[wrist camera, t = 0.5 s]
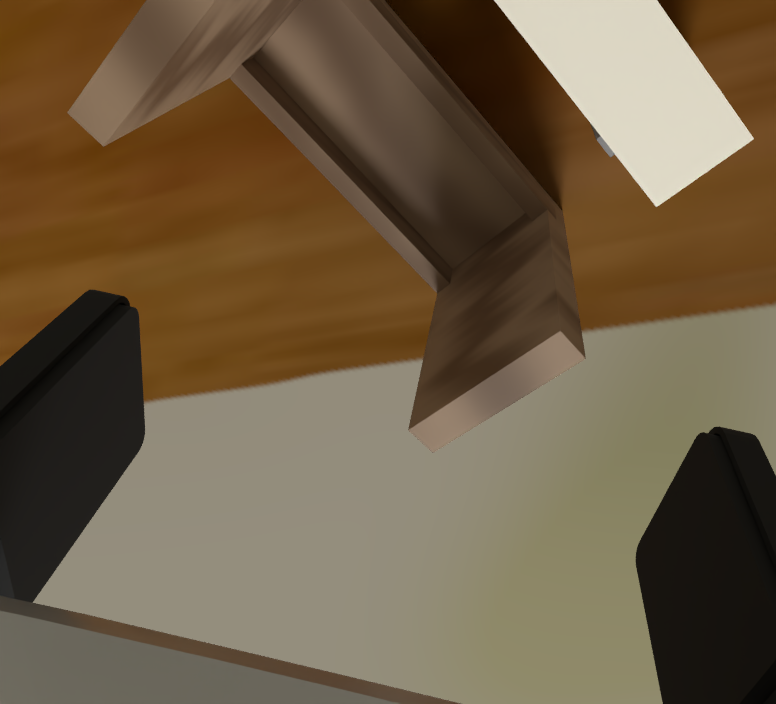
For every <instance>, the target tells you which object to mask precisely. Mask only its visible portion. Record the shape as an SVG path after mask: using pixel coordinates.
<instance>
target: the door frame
mask: <svg viewBox="0 0 776 704" xmlns="http://www.w3.org/2000/svg"><path fill="white" fill-rule="evenodd" d="M228 78H230V79H231V80H232V81H233V82H234V83H235V84H236V85H237V86H238V87H239V88H240V89H241V90H242V91H243V92H244V93H245V94H246V95H247V96H248V98H249V99H250V100H251V101H252V102H253V103H254V104H255V105H256V106H257V107H258V108H259V109H260V110H261V111H262V112H263V113H264V114H265V115H266V116H267V117H268V118H269V119H270V120H271V121H272V122H273V123H274V124H275V126H276V127H277V128H278V129H279V130H280V131H281V132H282V133H283V134H284V135H285V136H286V137H287V138H288V139H289V140H290V141H291V142H292V143H293V144H294V145H295V146H296V147H297V148H298V149H299V150H300V151H301V152H302V154H303V155H304V156H305V157H306V158H307V159H308V160H309V161H310V162H311V163H312V164H313V165H314V166H315V167H316V168H317V169H318V170H319V171H320V172H321V173H322V174H323V175H324V176H325V177H326V178H327V179H328V180H329V182H330V183H331V184H332V185H333V186H334V187H335V188H336V189H337V190H338V191H339V192H340V193H341V194H342V195H343V196H344V197H345V198H346V199H347V200H348V201H349V202H350V203H351V204H352V205H353V206H354V207H355V208H356V210H357V211H358V212H359V213H360V214H361V215H362V216H363V217H364V218H365V219H366V220H367V221H368V222H369V223H370V224H371V225H372V226H373V227H374V228H375V229H376V230H377V231H378V232H379V233H380V234H381V235H382V236H383V238H384V239H385V240H386V241H387V242H388V243H389V244H390V245H391V246H392V247H393V248H394V249H395V250H396V251H397V252H398V253H399V254H400V255H401V256H402V257H403V258H404V259H405V260H406V261H407V262H408V263H409V264H410V266H411V267H412V268H413V269H414V270H415V271H416V272H417V273H418V274H419V275H420V276H421V277H422V278H423V279H424V280H425V281H426V282H427V283H428V284H429V285H430V286H431V287H432V288H433V289H434V290H435V291H436V292H437V298H436V302H435V307H434V312H433V317H432V321H431V326H430V331H429V335H428V340H427V345H426V349H425V354H424V359H423V363H422V368H421V373H420V378H419V382H418V387H417V392H416V396H415V401H414V406H413V410H412V415H411V420H410V425H409V429H408V430H409V431H410V432H411V433H412V434H413V435H414V436H415V437H416V438H417V439H418V440H420V441H421V442H422V443H423V444H424V445H425V446H426V447H427V448H428V449H429V450H430V451H431V452H432V453H433V452H435V451H436V450H438V449H440V448H441V447H443V446H445V445H446V444H448V443H450V442H451V441H453V440H455V439H456V438H458V437H459V436H461V435H462V434H464V433H466V432H468V431H469V430H471V429H472V428H474V427H476V426H477V425H479V424H480V423H482V422H484V421H485V420H487V419H489V418H490V417H492V416H493V415H495V414H497V413H498V412H500V411H501V410H503V409H505V408H506V407H508V406H510V405H511V404H513V403H515V402H516V401H518V400H519V399H521V398H523V397H524V396H526V395H528V394H529V393H531V392H532V391H534V390H536V389H537V388H539V387H540V386H542V385H544V384H545V383H547V382H548V381H550V380H552V379H554V378H555V377H557V376H558V375H560V374H562V373H563V372H565V371H567V370H568V369H570V368H571V367H573V366H575V365H576V364H578V363H580V362H581V361H583V360H584V359H586V358H585V351H584V345H583V339H582V332H581V326H580V319H579V313H578V307H577V300H576V294H575V288H574V281H573V275H572V269H571V262H570V256H569V250H568V243H567V237H566V230H565V224H564V218H563V211H562V210H561V209H560V208H559V207H558V205H557V204H556V203H555V202H554V201H553V199H552V198H551V197H550V196H549V195H548V193H547V192H546V191H545V190H544V189H543V188H542V186H541V185H540V184H539V183H538V182H537V180H536V179H535V178H534V177H533V176H532V174H531V173H530V172H529V171H528V170H527V169H526V167H525V166H524V165H523V164H522V163H521V161H520V160H519V159H518V158H517V157H516V155H515V154H514V153H513V152H512V151H511V150H510V148H509V147H508V146H507V145H506V144H505V142H504V141H503V140H502V139H501V138H500V137H499V135H498V134H497V133H496V132H495V131H494V129H493V128H492V127H491V126H490V125H489V123H488V122H487V121H486V120H485V119H484V118H483V116H482V115H481V114H480V113H479V112H478V110H477V109H476V108H475V107H474V106H473V104H472V103H471V102H470V101H469V100H468V99H467V97H466V96H465V95H464V94H463V93H462V91H461V90H460V89H459V88H458V87H457V85H456V84H455V83H454V82H453V81H452V80H451V78H450V77H449V76H448V75H447V74H446V72H445V71H444V70H443V69H442V68H441V66H440V65H439V64H438V63H437V62H436V61H435V59H434V58H433V57H432V56H431V55H430V53H429V52H428V51H427V50H426V49H425V48H424V46H423V45H422V44H421V43H420V42H419V40H418V39H417V38H416V37H415V36H414V34H413V33H412V32H411V31H410V30H409V29H408V27H407V26H406V25H405V24H404V23H403V21H402V20H401V19H400V18H399V17H398V15H397V14H396V13H395V12H394V11H393V10H392V8H391V7H390V6H389V5H388V4H387V2H386V1H385V0H146V2H145V3H144V4H143V6H142V7H141V9H140V10H139V12H138V13H137V14H136V16H135V17H134V19H133V20H132V22H131V23H130V24H129V26H128V27H127V29H126V30H125V31H124V33H123V34H122V36H121V37H120V39H119V40H118V41H117V43H116V44H115V46H114V47H113V49H112V50H111V51H110V53H109V54H108V56H107V57H106V59H105V60H104V61H103V63H102V64H101V66H100V67H99V68H98V70H97V71H96V73H95V74H94V76H93V77H92V78H91V80H90V81H89V83H88V84H87V86H86V87H85V88H84V90H83V91H82V93H81V94H80V95H79V97H78V98H77V100H76V101H75V103H74V104H73V105H72V107H71V108H70V110H69V111H68V114H69V115H70V116H71V117H72V118H74V119H75V120H76V121H77V122H78V123H79V124H80V125H81V126H82V127H83V128H84V129H85V130H86V131H87V132H89V133H90V134H91V135H92V136H93V137H94V138H95V139H96V140H97V141H98V142H99V143H100V144H101V145H103V146H105V145H107V144H109V143H111V142H113V141H114V140H116V139H118V138H120V137H122V136H124V135H125V134H127V133H129V132H131V131H133V130H135V129H136V128H138V127H140V126H142V125H144V124H146V123H147V122H149V121H151V120H153V119H155V118H157V117H158V116H160V115H162V114H164V113H166V112H168V111H169V110H171V109H173V108H175V107H177V106H179V105H180V104H182V103H184V102H186V101H188V100H190V99H191V98H193V97H195V96H197V95H199V94H201V93H202V92H204V91H206V90H208V89H210V88H212V87H213V86H215V85H217V84H219V83H221V82H223V81H224V80H226V79H228Z"/></svg>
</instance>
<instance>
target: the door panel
mask: <svg viewBox="0 0 776 704" xmlns="http://www.w3.org/2000/svg"><path fill="white" fill-rule="evenodd" d="M494 1H495V2H496V3H497V4H498V6H499V7H500V8H501V10H502V11H503V12H504V13H505V15H506V16H507V17H508V19H509V20H510V21H511V22H512V24H513V25H514V26H515V27H516V29H517V30H518V31H519V33H520V34H521V35H522V36H523V38H524V39H525V40H526V41H527V43H528V44H529V45H530V47H531V48H532V49H533V50H534V52H535V53H536V54H537V55H538V57H539V58H540V59H541V61H542V62H543V63H544V64H545V66H546V67H547V68H548V69H549V71H550V72H551V73H552V75H553V76H554V77H555V78H556V80H557V81H558V82H559V83H560V85H561V86H562V87H563V89H564V90H565V91H566V92H567V94H568V95H569V96H570V98H571V99H572V100H573V101H574V103H575V104H576V105H577V106H578V108H579V109H580V110H581V112H582V113H583V114H584V115H585V117H586V118H587V119H588V120H589V122H590V123H591V126H592V129H593V131H594V134H595V137H596V140H597V141H598V142H599V143H600V145H601V146H602V147H603V148H604V150H605V151H606V152H607V154H608V155H609V156H610V157H612V156H613V155H614V154H615V155H616V156H617V157H618V159H619V160H620V161H621V162H622V164H623V165H624V166H625V168H626V169H627V170H628V171H629V173H630V174H631V175H632V176H633V178H634V179H635V180H636V182H637V183H638V184H639V185H640V187H641V188H642V189H643V191H644V192H645V193H646V194H647V196H648V197H649V198H650V199H651V201H652V202H653V203H654V205H655V206H656V207H657V206H659V205H660V204H662V203H663V202H664V201H666V200H667V199H669V198H670V197H672V196H673V195H674V194H676V193H677V192H679V191H680V190H682V189H683V188H684V187H686V186H687V185H689V184H690V183H692V182H693V181H695V180H696V179H697V178H699V177H700V176H702V175H703V174H705V173H706V172H707V171H709V170H710V169H712V168H713V167H715V166H716V165H717V164H719V163H720V162H722V161H723V160H725V159H726V158H727V157H729V156H730V155H732V154H733V153H735V152H736V151H737V150H739V149H740V148H742V147H743V146H745V145H746V144H747V143H749V142H750V141H752V140H753V139H754V138H753V137H752V135H751V134H750V133H749V131H748V130H747V128H746V127H745V125H744V124H743V123H742V121H741V120H740V118H739V117H738V115H737V114H736V113H735V111H734V110H733V108H732V107H731V105H730V104H729V103H728V101H727V100H726V98H725V97H724V95H723V94H722V92H721V91H720V90H719V88H718V87H717V85H716V84H715V82H714V81H713V80H712V78H711V77H710V75H709V74H708V72H707V71H706V70H705V68H704V67H703V65H702V64H701V62H700V61H699V60H698V58H697V57H696V55H695V54H694V52H693V51H692V50H691V48H690V47H689V45H688V44H687V42H686V41H685V40H684V38H683V37H682V35H681V34H680V32H679V31H678V29H677V28H676V27H675V25H674V24H673V22H672V21H671V19H670V18H669V17H668V15H667V14H666V12H665V11H664V9H663V8H662V7H661V5H660V4H659V2H658V1H657V0H494Z"/></svg>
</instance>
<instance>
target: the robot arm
mask: <svg viewBox="0 0 776 704" xmlns="http://www.w3.org/2000/svg"><path fill="white" fill-rule="evenodd" d="M144 435H145V419H144V401H143V383H142V364H141V346H140V328H139V314H138V311H137V309H136V308H134V307H130V303H129V301H128V299H127V298H126V297H124V296H120V295H115V294H111V293H106V292H102V291H97V290H89V291H87V292H85V293H84V294H83V295H82V296H81V297H79V298H78V299H77V300H76V301H75V302H74V303H73V304H71V305H70V306H69V307H68V308H67V309H66V310H65V311H63V312H62V313H61V314H60V315H59V316H58V317H56V318H55V319H54V320H53V321H52V322H51V323H50V324H48V325H47V326H46V327H45V328H44V329H43V330H42V331H40V332H39V333H38V334H37V335H36V336H35V337H34V338H32V339H31V340H30V341H29V342H28V343H27V344H25V345H24V346H23V347H22V348H21V349H20V350H19V351H17V352H16V353H15V354H14V355H13V356H12V357H11V358H9V359H8V360H7V361H6V362H5V363H4V364H3V365H1V366H0V704H460V703H456V702H452V701H448V700H444V699H440V698H436V697H432V696H428V695H423V694H419V693H415V692H411V691H407V690H403V689H399V688H394V687H390V686H386V685H382V684H378V683H373V682H369V681H365V680H361V679H357V678H353V677H349V676H345V675H340V674H336V673H332V672H328V671H323V670H319V669H315V668H311V667H307V666H303V665H298V664H294V663H290V662H285V661H282V660H278V659H273V658H269V657H265V656H261V655H256V654H252V653H248V652H244V651H239V650H236V649H231V648H227V647H222V646H218V645H214V644H210V643H206V642H201V641H197V640H193V639H189V638H184V637H180V636H176V635H171V634H167V633H163V632H159V631H154V630H150V629H146V628H142V627H137V626H133V625H128V624H124V623H120V622H116V621H112V620H107V619H103V618H98V617H95V616H90V615H86V614H82V613H77V612H73V611H68V610H63V609H59V608H54V607H50V606H45V605H40V604H36V603H32V602H33V601H34V600H35V598H36V597H37V595H38V594H39V593H40V591H41V590H42V588H43V587H44V585H45V584H46V582H47V581H48V580H49V578H50V577H51V576H52V574H53V573H54V571H55V570H56V568H57V567H58V566H59V564H60V563H61V561H62V560H63V558H64V557H65V556H66V554H67V553H68V551H69V550H70V548H71V547H72V546H73V544H74V543H75V541H76V540H77V539H78V537H79V536H80V534H81V533H82V531H83V530H84V528H85V527H86V526H87V524H88V523H89V521H90V520H91V519H92V517H93V516H94V514H95V513H96V511H97V510H98V508H99V507H100V506H101V504H102V503H103V501H104V500H105V499H106V497H107V496H108V494H109V493H110V492H111V490H112V489H113V487H114V486H115V484H116V483H117V482H118V480H119V479H120V477H121V476H122V474H123V473H124V471H125V470H126V469H127V467H128V466H129V464H130V463H131V462H132V460H133V459H134V457H135V456H136V455H137V453H138V452H139V450H140V448H141V446H142V443H143V440H144ZM636 568H637V573H638V578H639V583H640V588H641V593H642V598H643V603H644V609H645V613H646V619H647V624H648V629H649V634H650V640H651V645H652V650H653V655H654V660H655V665H656V670H657V676H658V681H659V686H660V691H661V696H662V701H663V704H776V475H775V474H774V471H773V469H772V467H771V465H770V463H769V461H768V459H767V457H766V455H765V452H764V451H763V448H762V446H761V444H760V442H759V440H758V439H757V437H756V436H755V435H753V434H750V433H745V432H741V431H736V430H732V429H727V428H722V427H714V428H713V429H712V430H711V431H710V432H709V433H704V432H703V433H700V434H699V435H698V436H697V437H696V439H695V440H694V442H693V444H692V446H691V448H690V450H689V451H688V453H687V455H686V457H685V459H684V461H683V462H682V464H681V466H680V468H679V470H678V472H677V473H676V476H675V477H674V479H673V481H672V483H671V485H670V486H669V488H668V490H667V492H666V494H665V496H664V497H663V500H662V501H661V503H660V505H659V507H658V509H657V511H656V512H655V514H654V516H653V518H652V520H651V522H650V523H649V525H648V527H647V529H646V531H645V533H644V535H643V536H642V538H641V540H640V543H639V544H638V547H637V552H636Z"/></svg>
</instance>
